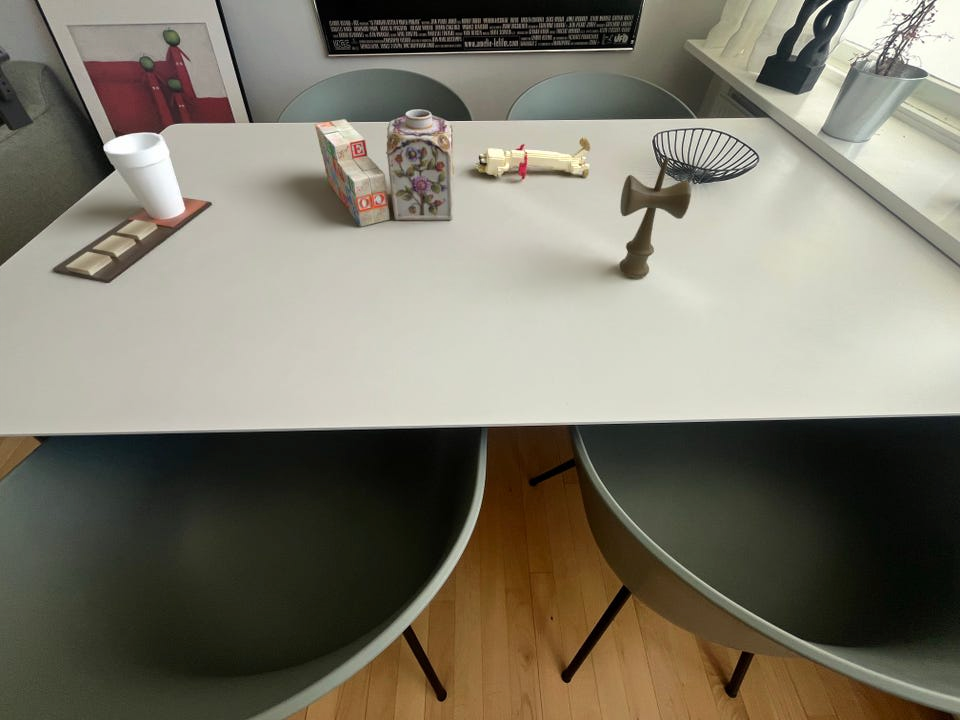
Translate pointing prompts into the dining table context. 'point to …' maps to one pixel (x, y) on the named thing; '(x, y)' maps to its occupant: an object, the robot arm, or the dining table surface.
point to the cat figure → (533, 160)
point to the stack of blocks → (353, 172)
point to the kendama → (649, 216)
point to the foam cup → (147, 172)
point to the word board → (127, 243)
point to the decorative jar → (421, 166)
